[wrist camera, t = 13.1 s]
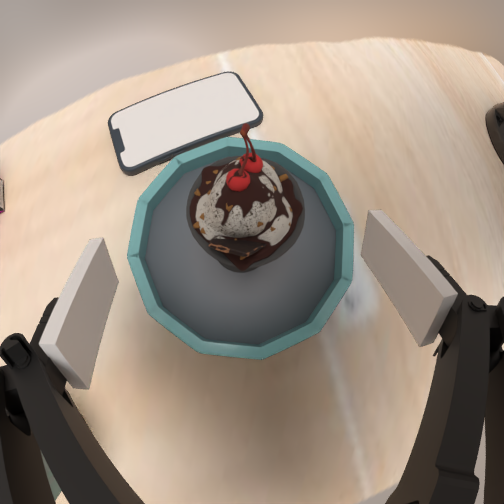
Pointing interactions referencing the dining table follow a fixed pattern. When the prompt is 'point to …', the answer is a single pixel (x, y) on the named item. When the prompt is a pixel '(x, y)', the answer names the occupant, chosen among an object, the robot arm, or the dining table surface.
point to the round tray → (233, 283)
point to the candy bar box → (1, 196)
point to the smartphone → (181, 121)
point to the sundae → (245, 210)
